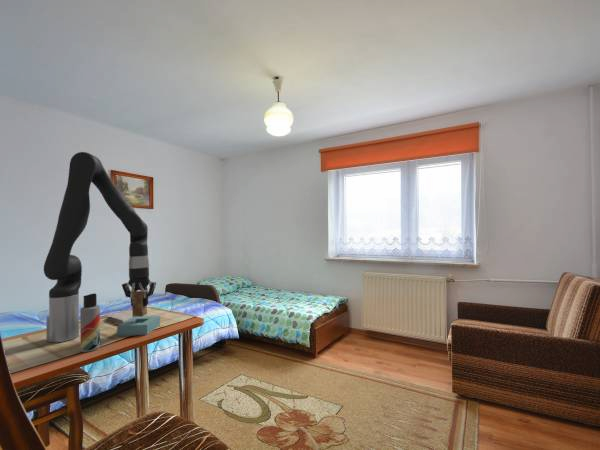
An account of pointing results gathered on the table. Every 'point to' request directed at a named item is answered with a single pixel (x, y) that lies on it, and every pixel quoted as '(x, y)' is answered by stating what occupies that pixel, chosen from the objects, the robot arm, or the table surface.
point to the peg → (138, 304)
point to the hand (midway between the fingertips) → (139, 306)
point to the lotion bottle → (90, 324)
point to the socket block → (138, 326)
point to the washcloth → (121, 316)
